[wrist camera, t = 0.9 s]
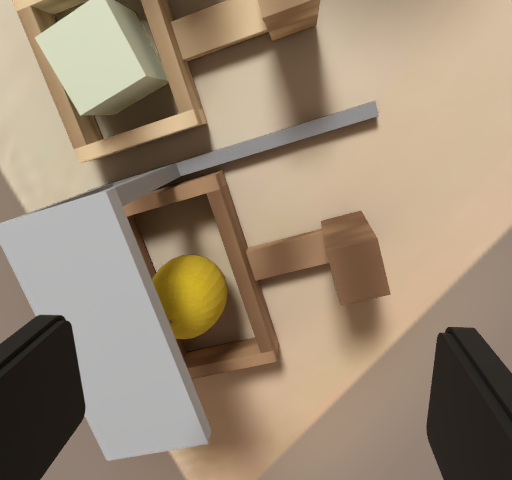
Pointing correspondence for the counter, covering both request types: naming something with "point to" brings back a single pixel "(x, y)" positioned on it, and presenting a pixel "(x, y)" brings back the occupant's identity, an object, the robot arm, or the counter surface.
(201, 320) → the lemon
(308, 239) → the wooden handled tray
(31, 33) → the sled
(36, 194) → the counter surface
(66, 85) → the sage cube
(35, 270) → the grey bench
